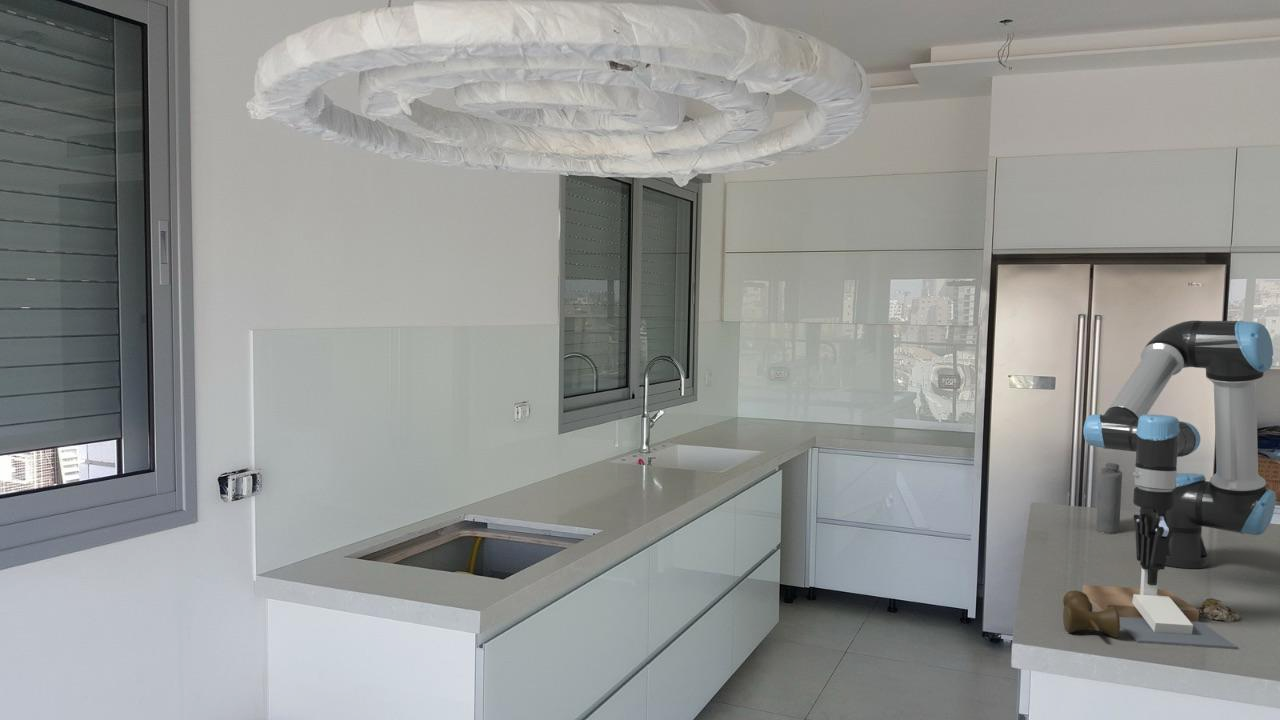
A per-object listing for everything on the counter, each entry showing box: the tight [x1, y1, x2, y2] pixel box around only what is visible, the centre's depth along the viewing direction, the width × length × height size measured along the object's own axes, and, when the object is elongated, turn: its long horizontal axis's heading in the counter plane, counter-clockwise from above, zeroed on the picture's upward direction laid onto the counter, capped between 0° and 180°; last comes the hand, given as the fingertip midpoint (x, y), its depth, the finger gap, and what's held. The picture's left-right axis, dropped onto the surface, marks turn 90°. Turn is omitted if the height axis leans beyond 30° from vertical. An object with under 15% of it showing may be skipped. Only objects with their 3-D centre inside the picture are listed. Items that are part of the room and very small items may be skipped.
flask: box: [1096, 462, 1123, 534], centre depth 266 cm, size 15×6×20 cm, turn 150°
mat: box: [1119, 617, 1238, 650], centre depth 177 cm, size 18×14×1 cm
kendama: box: [1062, 590, 1121, 639], centre depth 179 cm, size 6×10×20 cm
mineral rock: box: [1195, 597, 1241, 623], centre depth 189 cm, size 11×4×8 cm
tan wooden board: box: [1082, 584, 1200, 622], centre depth 191 cm, size 18×14×2 cm
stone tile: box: [1132, 594, 1193, 634], centre depth 180 cm, size 7×11×2 cm, turn 172°
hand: (1148, 598), depth 186 cm, fingers closed
